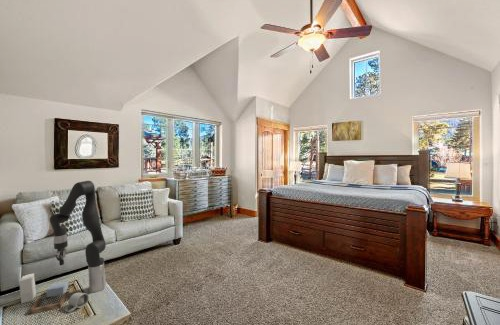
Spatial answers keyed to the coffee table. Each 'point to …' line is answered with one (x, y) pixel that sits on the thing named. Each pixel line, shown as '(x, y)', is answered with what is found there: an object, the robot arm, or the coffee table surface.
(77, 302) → the ceramic mug
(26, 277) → the skincare box
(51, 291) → the slate carton
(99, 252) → the robot arm
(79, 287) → the coffee table surface
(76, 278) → the coffee table surface
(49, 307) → the display bay
